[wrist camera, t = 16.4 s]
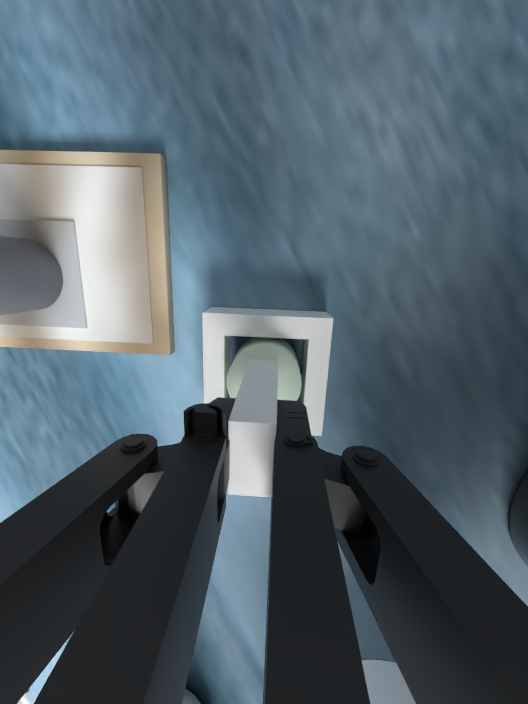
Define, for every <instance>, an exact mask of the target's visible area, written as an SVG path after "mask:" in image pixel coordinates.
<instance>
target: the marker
mask: <svg viewBox="0 0 528 704" xmlns="http://www.w3.org/2000/svg"><path fill="white" fill-rule="evenodd" d="M62 285H63V277H62V272H61V268H60V266H59V263H58V262H57V260H56V258H55V257H54V255H53V254H52V253H51V252H50V251H49V250H48V249H47V248H46V247H44V246H43V245H41V244H40V243H38V242H35V241H33V240H29V239H22V238H14V237H7V236H0V315H6V314H13V313H20V312H27V311H34V310H41V309H45V308H47V307H49V306H51V305H52V304H53V303H55V302H56V300H57V299H58V297H59V296H60V293H61V291H62Z"/></svg>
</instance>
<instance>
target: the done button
mask: <svg viewBox="0 0 528 704" xmlns="http://www.w3.org/2000/svg"><path fill="white" fill-rule="evenodd" d="M249 359H258V360H278V386H277V400H292V401H297V400H298V398H299V395H300V392H301V387H302V380H301V374H300V369H299V363H298V359H297V355H296V353H295V351H294V350H293V348H292V347H291V346H290V345H289V344H288V343H287V342H286V341H284V340H283V339H281V338H267V337H254V338H251V339H250V340H248V341H247V342H245V343H244V344H243V345H242V346H241V348H240V349H239V351H238V353H237V355H236V357H235V358H234V360H233V362H232V364H231V366H230V368H229V371H228V374H227V390H228V393H229V396H230V398H236V397H237V394H238V391H239V388H240V385H241V382H242V379H243V376H244V373H245V370H246V367H247V364H248V361H249Z"/></svg>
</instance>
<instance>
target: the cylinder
mask: <svg viewBox="0 0 528 704" xmlns="http://www.w3.org/2000/svg"><path fill="white" fill-rule="evenodd" d="M362 665H363V670H364V675H365V680H366V685H367V690H368V694H369V699H370V704H416V703H415V701H414V699H413V696H412V694H411V692H410V690H409V688H408V686H407V684H406V682H405V680H404V678H403V676H402V674H401V671H400V669H399V667H398V665H397V663H396V662H389V661H382V660H362Z"/></svg>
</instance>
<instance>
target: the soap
mask: <svg viewBox="0 0 528 704" xmlns="http://www.w3.org/2000/svg"><path fill="white" fill-rule="evenodd" d="M35 700H36V698H35V696H34V695H33V694H32V692H31V691H30V690H28V692H27V693H25V694H24V695H23V697H22V698H21V699H20V700H19V702H18V703H17V704H34V702H35Z"/></svg>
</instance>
